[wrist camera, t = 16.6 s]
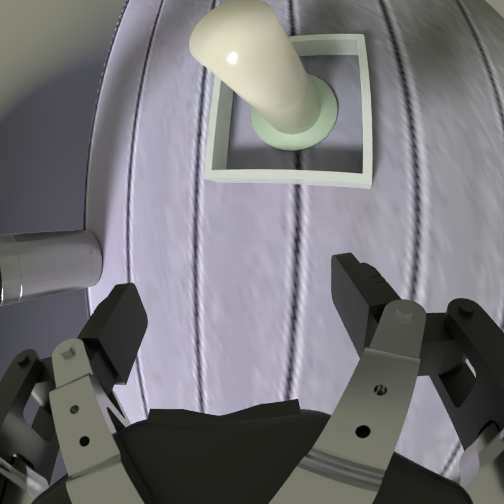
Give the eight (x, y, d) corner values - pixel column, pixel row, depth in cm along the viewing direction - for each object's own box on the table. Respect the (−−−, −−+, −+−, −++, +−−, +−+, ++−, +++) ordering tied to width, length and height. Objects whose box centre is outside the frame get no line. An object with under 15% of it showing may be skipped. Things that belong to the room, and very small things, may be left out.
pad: (249, 151, 28) (247, 150, 27) (255, 77, 27) (253, 76, 26) (337, 152, 24) (336, 151, 24) (336, 72, 23) (336, 71, 23)
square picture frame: (218, 182, 29) (203, 178, 27) (231, 59, 28) (219, 47, 25) (370, 189, 24) (371, 184, 21) (365, 50, 22) (363, 34, 19)
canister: (264, 135, 26) (182, 72, 14) (268, 87, 26) (196, 10, 13) (320, 134, 24) (273, 55, 12) (320, 85, 24) (276, -9, 11)
